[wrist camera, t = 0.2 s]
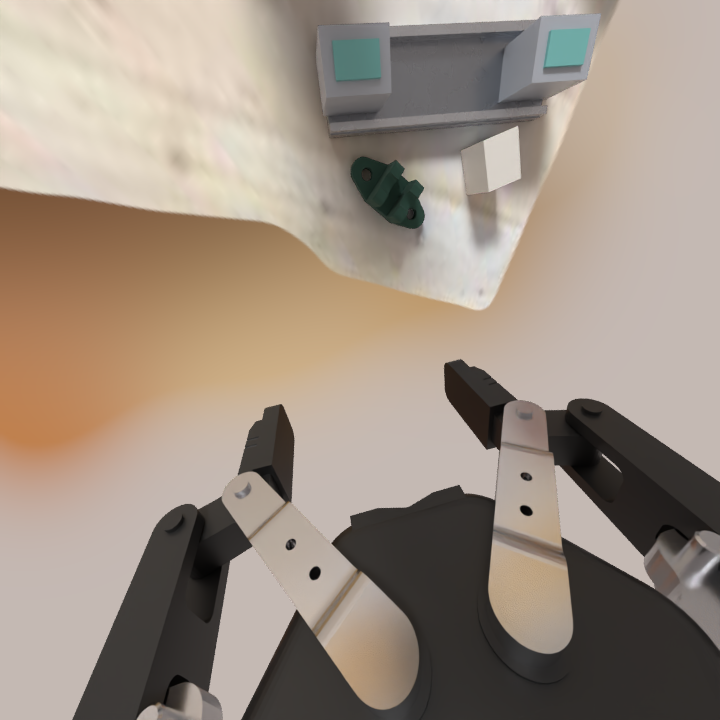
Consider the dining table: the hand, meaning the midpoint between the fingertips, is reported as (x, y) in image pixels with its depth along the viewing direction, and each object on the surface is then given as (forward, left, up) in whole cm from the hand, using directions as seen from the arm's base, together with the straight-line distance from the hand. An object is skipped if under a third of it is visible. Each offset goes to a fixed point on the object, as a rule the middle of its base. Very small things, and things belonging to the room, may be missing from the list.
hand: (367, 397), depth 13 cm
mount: (-9, +9, -29) cm, 31 cm away
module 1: (-19, +5, -27) cm, 34 cm away
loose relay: (-11, +21, -28) cm, 37 cm away
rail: (-19, +15, -28) cm, 37 cm away
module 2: (-19, +25, -27) cm, 42 cm away
